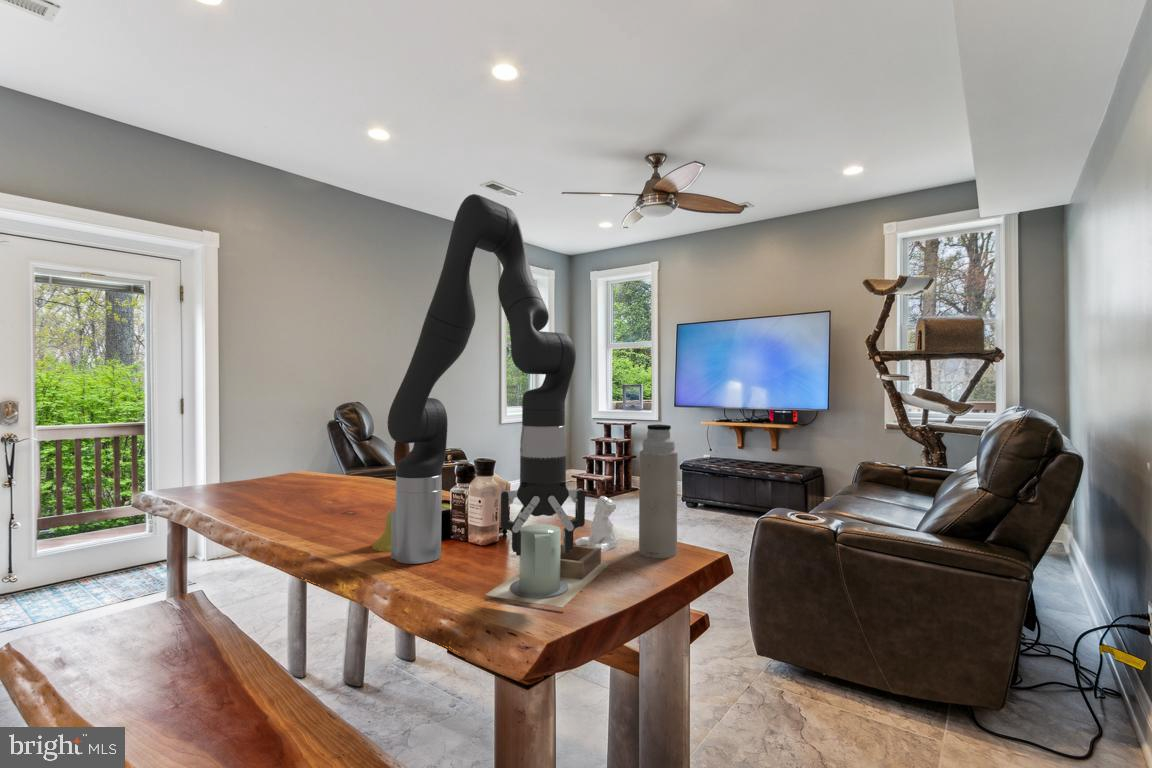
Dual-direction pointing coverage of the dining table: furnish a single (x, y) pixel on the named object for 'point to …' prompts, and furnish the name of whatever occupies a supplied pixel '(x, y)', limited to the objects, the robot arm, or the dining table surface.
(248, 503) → the dining table surface
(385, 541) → the handbell
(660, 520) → the thermos bottle
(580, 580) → the jug stand
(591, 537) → the seated beast figurine
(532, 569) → the sage jug
